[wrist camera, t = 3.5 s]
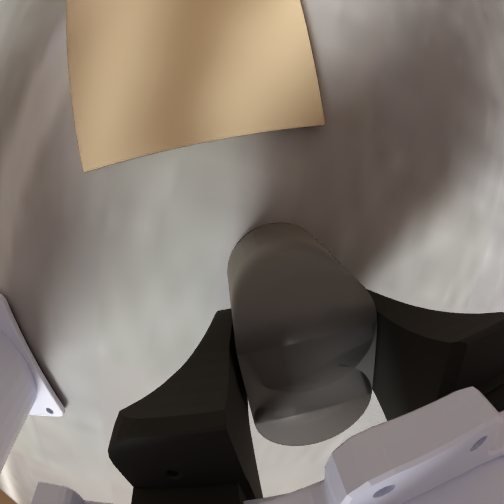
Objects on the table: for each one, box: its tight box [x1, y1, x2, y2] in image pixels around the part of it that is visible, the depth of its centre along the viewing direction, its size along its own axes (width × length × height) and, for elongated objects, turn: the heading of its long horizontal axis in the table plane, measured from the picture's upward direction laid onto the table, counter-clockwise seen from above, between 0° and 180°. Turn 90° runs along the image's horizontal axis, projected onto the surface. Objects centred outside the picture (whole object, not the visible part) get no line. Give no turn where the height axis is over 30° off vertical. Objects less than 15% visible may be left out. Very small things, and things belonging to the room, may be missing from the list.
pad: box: [66, 0, 325, 172], centre depth 9 cm, size 9×9×1 cm
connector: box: [228, 223, 377, 446], centre depth 11 cm, size 9×4×5 cm, turn 9°
